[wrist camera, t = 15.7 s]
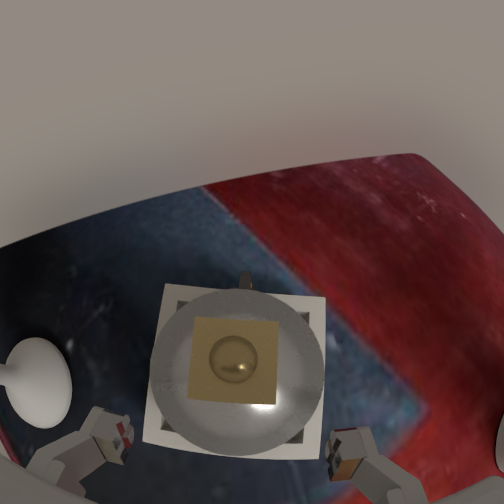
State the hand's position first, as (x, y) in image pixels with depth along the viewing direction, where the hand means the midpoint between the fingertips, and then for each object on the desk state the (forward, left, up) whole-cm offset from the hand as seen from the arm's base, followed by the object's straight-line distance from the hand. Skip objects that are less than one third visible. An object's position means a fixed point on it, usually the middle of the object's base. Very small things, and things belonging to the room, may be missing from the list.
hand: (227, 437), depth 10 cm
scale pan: (0, -5, -17) cm, 17 cm away
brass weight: (0, -4, -11) cm, 12 cm away
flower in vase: (+23, +2, -19) cm, 30 cm away
